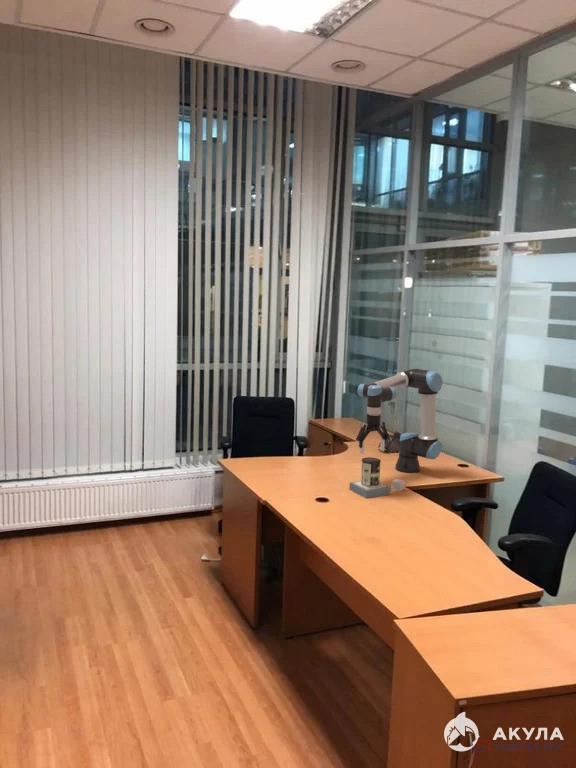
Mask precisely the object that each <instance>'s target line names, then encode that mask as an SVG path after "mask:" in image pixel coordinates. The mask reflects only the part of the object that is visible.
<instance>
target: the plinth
mask: <svg viewBox="0 0 576 768" xmlns="http://www.w3.org/2000/svg"><path fill="white" fill-rule="evenodd" d="M348 490H350V491H352V492H354V493H355V494H357V495H358V496H360V497H363V498H364V499H371V498H377V496H378V497H383V495H384V496H388V495H389V496H390V495H391V486H388V485H386V484H384V483H382V482H380V481H379V486H378V487H365V486H362V485H361V480H359V481H358V480H357V481H350V482H349V488H348Z"/></svg>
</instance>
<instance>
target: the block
mask: <svg viewBox="0 0 576 768" xmlns="http://www.w3.org/2000/svg"><path fill="white" fill-rule="evenodd" d="M391 490H394V491H397V492H401V491H404V490H405V480H404V479H399V478H396V479H395V478H394V479H393V480H391Z"/></svg>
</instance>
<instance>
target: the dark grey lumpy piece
mask: <svg viewBox="0 0 576 768" xmlns="http://www.w3.org/2000/svg"><path fill="white" fill-rule="evenodd" d="M382 433H383V431H382ZM383 434H384V433H383ZM401 434H402V433H401V432H398V431H394V432H392V434H389V433H388V435H389V438H387V440H386V444H385V445H384V450H386V452H387V453H396V452H399V445H400V436H401ZM380 443H381V441H380V442H379V443H378V449H379V448H380Z"/></svg>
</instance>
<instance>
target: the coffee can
mask: <svg viewBox="0 0 576 768" xmlns="http://www.w3.org/2000/svg"><path fill="white" fill-rule="evenodd" d="M381 462H382V461H381V459H380V458H376V457H371V456H370V457H363V458H361V477H360V481H361V485H362V486H365V487H378V486H379V482H380V480H381V479H380V478H381V477H380V476H381Z"/></svg>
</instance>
